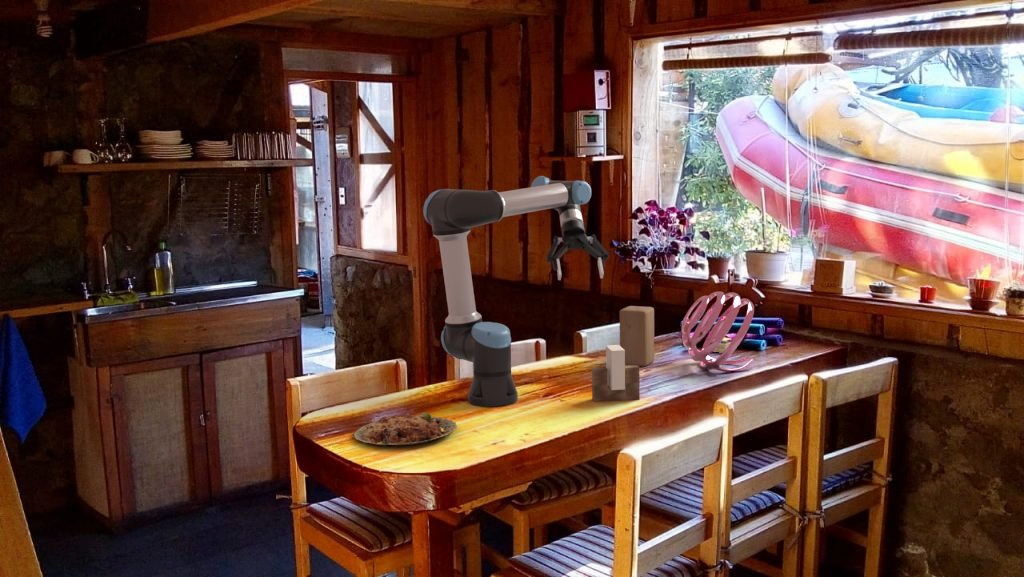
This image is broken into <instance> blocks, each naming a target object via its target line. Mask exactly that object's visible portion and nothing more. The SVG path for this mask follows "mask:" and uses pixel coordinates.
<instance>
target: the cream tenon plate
mask: <svg viewBox="0 0 1024 577" xmlns="http://www.w3.org/2000/svg"><path fill="white" fill-rule="evenodd" d="M625 366H626V365H625V350H624V349H623V348H622V347H621V346H620V344H611V345H609V344H608V345H605V367H606V368H607V369H608V386H609V387H610V388H611V390H624V389H625Z"/></svg>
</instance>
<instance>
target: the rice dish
mask: <svg viewBox="0 0 1024 577" xmlns="http://www.w3.org/2000/svg"><path fill="white" fill-rule="evenodd" d="M457 426H458V425H457V423H456V422H455V421H452V420H451V419H448V418H446V417H445V418H444V417H443V418H442V417H437V416H436V417H435V416H432V415H431V414H430V413H429V412H427V411H425V412H422V413H420V414H418V413H416V414H415V413H414V414H409V413H406V414H405V413H404V414H399V415H397V414H395V415H391V416H382V417H381V418H380V419H376V420H374V421H373V422H370V423H367V424H365V425H363V426H361V427H359V428H358V429H356V430H355V431H354V433H352V436H353V438H354V439H355V440H357V441H360V442H363V443H369V444H372V445H377V446H389V445H391V446H404V445H406V446H411V445H417V444H423V443H427V442H430V441H433V440H436V439H439V438H443V437H446V436H448V435H449V434H451V433H453V432H454V431H456V429H457V428H458V427H457Z"/></svg>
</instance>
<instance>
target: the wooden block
mask: <svg viewBox="0 0 1024 577" xmlns="http://www.w3.org/2000/svg"><path fill="white" fill-rule="evenodd" d="M619 345H620V346H621V347H622V348H623V349H624V350H625V366H628V365H637V366H639V367H647V366H648V365H650V364H652V363H653V362H654V361H655V308H654V307H652V306H638V305H629V306H626V307H624V308H622V309H620V310H619Z"/></svg>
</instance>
